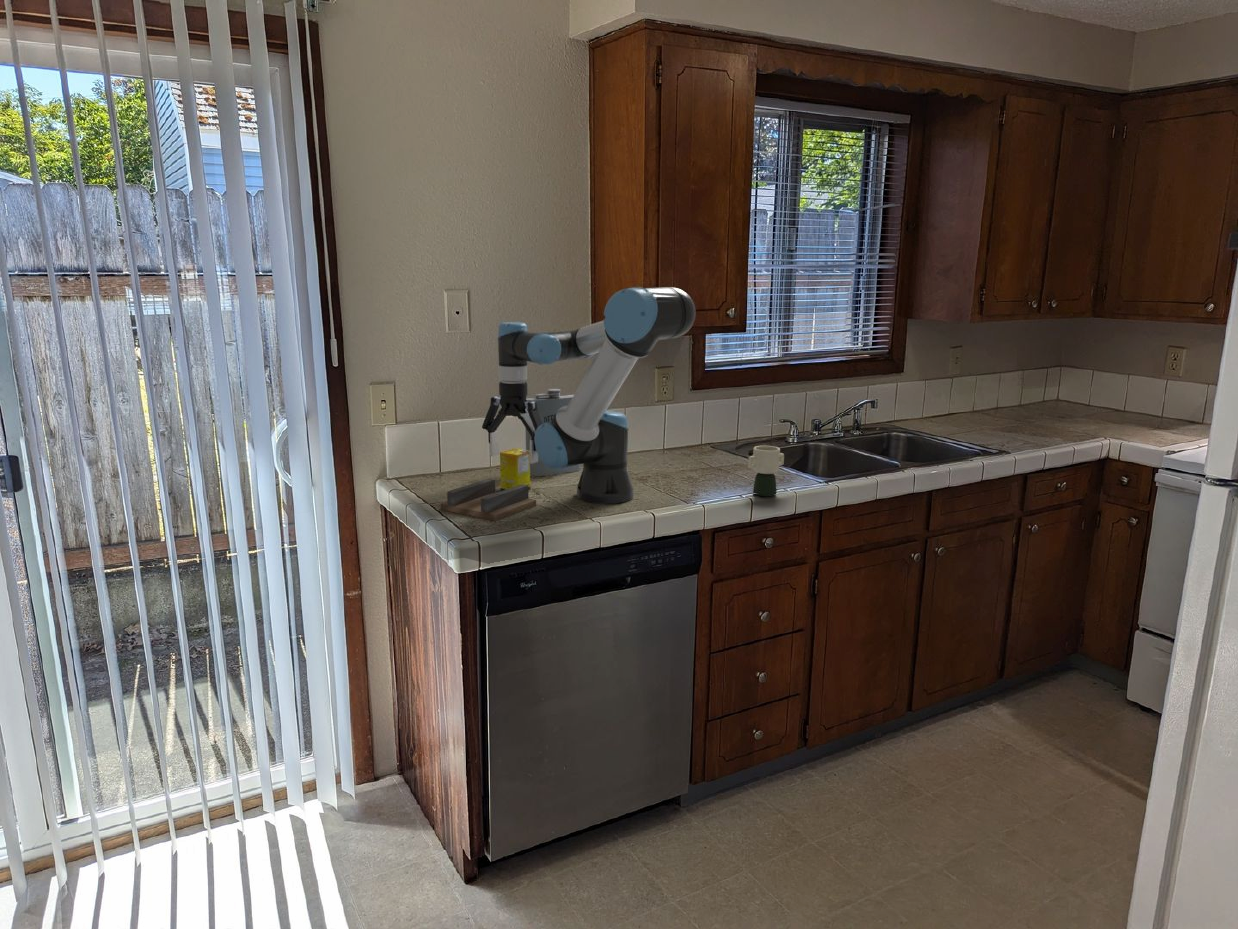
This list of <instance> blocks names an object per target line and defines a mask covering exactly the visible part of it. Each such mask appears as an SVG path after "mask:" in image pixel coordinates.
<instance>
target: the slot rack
mask: <svg viewBox="0 0 1238 929" xmlns="http://www.w3.org/2000/svg"><path fill="white" fill-rule="evenodd" d="M446 495H447V499H446V500H447V501H444V502H441V503H440V504H439V505H440V506H439V508H440V509H439V510H442V511H448V512H452V513H455V514H456V513H457V514H460V515H466V516H470V515H471V517H475V516H476V518H479V517H480V519H485V520H490V521H495V522H497V521H499V520H503V519H505V518H507V517H509V515H510V516H512V515H515V514H517V512H518V513H520V512H519V511H521V512H523V511H525V510H524V509H526V510H528V509H531V508H533V506H534V507H536V506H537V499H533V498H529V490H528V485H524V484H521V485H518V486H515V487H512V488H509V489H506V490H503V491H501V490H500V491H498V492H496V479H495V478H486V479H484V480H479V481H477V482H473V483H469V484H467V485H466V484H465V486H460V487H457V488H454V489H451V490H447V492H446ZM522 510H523V511H522ZM506 516H507V517H506Z"/></svg>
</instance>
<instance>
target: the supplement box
mask: <svg viewBox="0 0 1238 929" xmlns="http://www.w3.org/2000/svg"><path fill="white" fill-rule="evenodd" d="M499 463H500V465H499V467H500V468H499V470H500V492H501V491H503V490H506V489H509V488H512V487H515V486H518V485H521V484H524V485H528V491H530V490H531V477H530V451H528V450H526V449H520V448H514V447H513V448H510V449H507V450H503V451H499Z"/></svg>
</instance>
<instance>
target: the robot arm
mask: <svg viewBox="0 0 1238 929" xmlns="http://www.w3.org/2000/svg"><path fill="white" fill-rule="evenodd" d="M603 316H604V317H605V318H604V319H603V320H601V321H597V322H595V323H594V322H593V323H592V324H588V325H585V326H581V327H579V328H576V329H572V330H567V331H566V330H565V331H550V332H549V331H548V332H531V331H528V325H527V324H526V323H525V322H522V321H521V322H520V321H508V322H507V321H506V322H505V321H504V322H500V323H499V325H498V336H497V346H498V348H497V349H498V350H497V351H498V352H497V353H498V380H499V383H498V395H496V396H492V397H490V403H489V404H490V405H489V407H488V410H487V413H486V415H485V418H484V420H483V422H482V425H481V429H483V430H486V431H487V433H488V444H489V446H490V448H489V450H490V451H489V452H490V454H489V455H490V457H495V456H500V449H499V448H500V444H499V442H500V441H499V440H500V436H499V435H500V433H499V431H498V428H499V426H500V425H501V424H502V423H503V421H504V420H505V418H507V417H510V416H512V417H515V418H516V417H517V418H518V420H520V421H521V422H522V424H523V426H524V427H525V430H526V429H527V431H528V432H529V434H530V435H531V437H532V438H531V439H530V463H531V464H533V463H536V462H538V456H539V458H540V460H541V461H542V462H543V463H544V464H545V465H546V466H547V467H549V468H552V469H558V468H561V469H562V468H566V467H570V466H574V465H579V464H581V465H583V468H582V471H581V475H580V477H579V481H578V483H577V487H576V498H577V499H578V500H580V501H583V502H587V503H591V504H600V505H601V504H605V505H606V504H607V505H609V504H611V505H612V504H619V503H623V502H625V503H626V502H628V501H630V500H632V499H633V498H634V485H633V483H632V479H631V476H630V474H629V470H628V446H629V445H628V444H629V443H628V442H629V440H628V438H629V428H628V418H627V416H626V415H625V414H624V413H623V412H619V411H613V410H612V411H611V410H608V408H609V406H611V404H612V402H613V400H614V399H615V397H616V395H617V394H618V392H619V390H620V389H621V387H622V385H623V384H624V383H625V381H626V380H627V378H628V376H629V374H630V373H631V371H632V369H633V368H634V367H635V364H636V363H637V362H638V360H639V359H643V358H646V357H647V356H649V355H650V353H651V352H652V350H653V349H654V347H655V345H656V344H657V343H658V342H659V341H661V340H670V339H677V338H678V337H681V336H684V335H685V334H687V333H688V332H689V331H690V330H691V328H693V327H692V326H693V325H694V322H695V320H696V306H695V303H694V300H693V299H692V298H691V296H690V294H688V293H687V292H685V291H684V290H682V289H680V288H678V287H675V286H674V287H673V286H664V287H663V286H662V287H661V286H659V287H641V286H633V287H629V288H624V289H621V290H618V291H616V292H615V293H613V295H612V296H611V297H609V299H608V301H607V302H606V304H605V307H604V311H603ZM595 354H596V356H595V358H594V360H593V361H592V363H591V365H590V367H589V368H588V370H587V372H586V373H585V374H584V377H583V379H582V381H581V382H580V384H579V386H578V387H577V389H576V391H575V393H574V394H573V395H574V396H573V398H572V399H571V401H570V403H569V405H568V406H564V407H561V408H560V409H559V410H558V411H557V413H556V415H555V416H554V418H553V420H552V421H551V422H550V423H544V424H543V423H542V421H541V418H540V416H539V413H538V410H537V403H536V401H532V402H527V400H526V399H527V396H528V382H527V380H528V362H529V363H534V364H537V365H552V364H554V363H555V362H561V361H567V360H568V361H569V360H571V361H572V360H585V359H588V358H592V357H593V356H594V355H595ZM499 407H501V408H500V409H499ZM526 409H528V411H527V410H526ZM496 414H497V415H496ZM529 415H530V417H529Z"/></svg>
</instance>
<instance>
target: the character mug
mask: <svg viewBox="0 0 1238 929" xmlns="http://www.w3.org/2000/svg"><path fill="white" fill-rule="evenodd" d="M752 452H753V454H752V455H751V456H749V457H748V462H747V465H748V469H752V470H753V472H755V473H756V475H755V478H754V484H753V492H752V494H755V495H758V496H759V497H761V496H763V497H772V496H775V495H777V479H776V475H775V474H777V473H779V470H780V466H782V465H784V464H785V463H784V462H785V454H784V453H782V452H781V448H780V447H778V446H773V445H756V446H754V447H753V451H752Z"/></svg>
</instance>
